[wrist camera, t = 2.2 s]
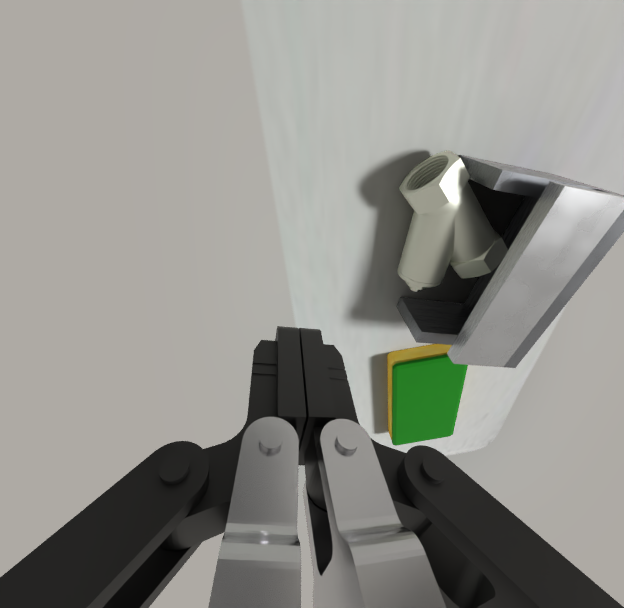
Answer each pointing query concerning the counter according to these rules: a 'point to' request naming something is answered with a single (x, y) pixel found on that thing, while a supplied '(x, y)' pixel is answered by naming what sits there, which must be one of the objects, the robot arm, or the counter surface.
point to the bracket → (523, 267)
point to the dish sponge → (423, 393)
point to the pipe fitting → (445, 225)
